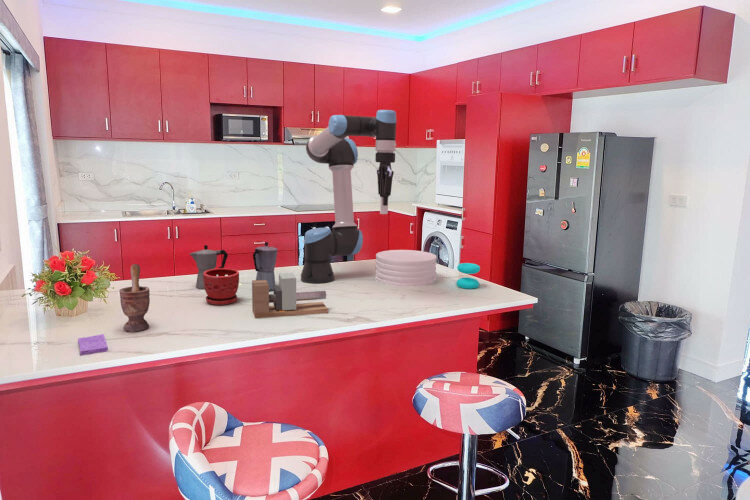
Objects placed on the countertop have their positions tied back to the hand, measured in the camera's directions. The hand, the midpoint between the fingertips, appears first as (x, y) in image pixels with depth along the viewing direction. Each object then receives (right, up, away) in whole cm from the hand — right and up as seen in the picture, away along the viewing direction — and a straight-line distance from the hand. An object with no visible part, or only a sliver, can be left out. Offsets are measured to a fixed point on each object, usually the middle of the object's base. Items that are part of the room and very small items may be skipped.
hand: (383, 213), depth 202 cm
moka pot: (-50, -31, +17) cm, 61 cm away
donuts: (+38, -31, +29) cm, 57 cm away
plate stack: (+11, -28, +41) cm, 51 cm away
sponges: (-86, -43, -50) cm, 108 cm away
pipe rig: (-34, -37, -13) cm, 52 cm away
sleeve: (-35, -35, -14) cm, 51 cm away
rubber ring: (-38, -35, -15) cm, 54 cm away
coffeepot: (-74, -30, +19) cm, 82 cm away
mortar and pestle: (-81, -39, -33) cm, 96 cm away
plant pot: (-62, -34, -3) cm, 71 cm away
